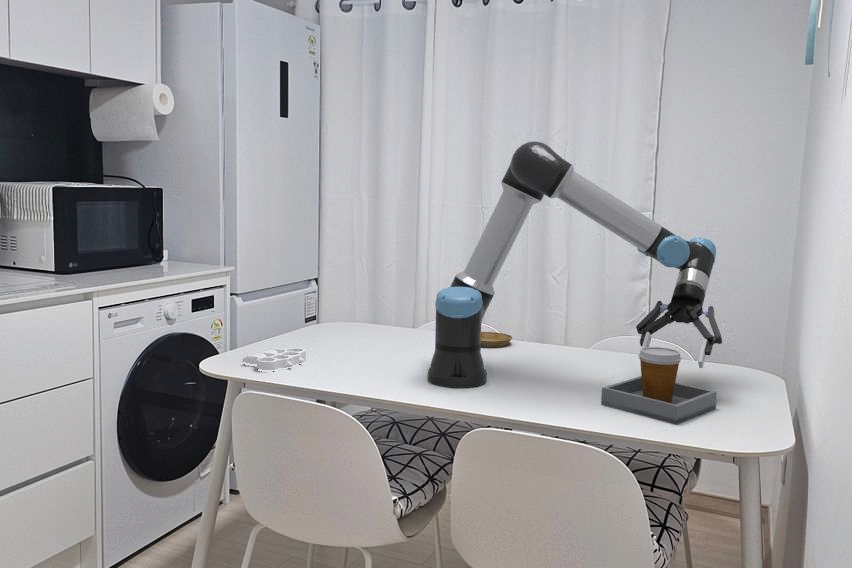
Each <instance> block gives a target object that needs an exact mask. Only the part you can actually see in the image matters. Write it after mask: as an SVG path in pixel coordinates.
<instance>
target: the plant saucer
mask: <svg viewBox="0 0 852 568" xmlns="http://www.w3.org/2000/svg"><path fill="white" fill-rule="evenodd" d="M512 340H513V336H512V335H510V334H507V333H502V332H498V331H497V332H496V331H481V347H483V348H500V347H505V346H507V345H508V344H509V343H510V342H511V341H512Z"/></svg>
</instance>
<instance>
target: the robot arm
mask: <svg viewBox="0 0 852 568" xmlns="http://www.w3.org/2000/svg"><path fill="white" fill-rule="evenodd" d="M500 184H501V186H502V193H501V195H500V197H499V199H498V200H497V204H496V205H495V208H494V209H493V211H492V213H491V216H490V217H489V219H488V222H487V224H486V226H485V227H484V229H483V231H482V234H481V236H480V238H479V240H478V242H477V244H476V246H475V248H474V249H473V252H472V254H471V256H470V258H469V260H468V263H467V264H466V266H465V269H464V271H462V272H459V273H456V274H455V276H454V278H453V280H452V282H451V284H450V286H449V287H447V288H442V289H440V290H439V291H438V292H437V293H436V299H435V333H434V334H435V335H434V336H435V338H434V339H435V341H434V342H435V346H434V353H433V355H432V358H431V361H430V367H428V369H427V381H428V382H429V383H431V384H433V385H435V386H436V385H437V386H440V387H445V388H456V389H457V388H459V389H460V388H461V389H462V388H463V389H464V388H473V387H479V386H482V385H484V384H486V383H487V380H488V379H487V378H488V377H487V376H488V374H487V370H486V369H485V365H484V359H483V355H482V352H481V350H482V349H481V332H482V322H483V319H484V317H485V314H486V312H487V310H488V309H489V306H490V304H491V303H492V300H493V298H494V296H495V294H496V291H495V290H494V289H495V288H494V283H495V281H496V279H497V278H498V275H499V273H500V271H501V269H502V267H503V265H504V263H505V261H506V260H507V257H508V255H509V253H510V251H511V249H512V247H513V245H514V243H515V242H516V239H517V238H518V235H519V233H520V231H521V229H522V227H523V226H524V223H525V222H526V219H527V217H528V215H529V213H530V211H531V210H532V207H533V206H534V205H536V204H538V203H541V202H542V200H543V198H544V196H546V197H547V198H549V199H555V198H556V199H559V200H560V201H562V202H563V203H565V204H566V205H568V206H570V207H571V208H573V209H575V210H577V211H578V212H579V213H582V215H584V216H586V217H587V218H589V219H591V220H592V221H594V222H595V223H597V224H598V225H600V226H602V227H604V228H605V229H606V230H608V231H610V232H611V233H613V234H615V235H616V236H618V237H620V238H621V239H622V240H624V241H625V242H627V243H630V244H631V245H632V246H634V247H636V248H637V251H638V252H639V253H641V254H643V255H644V256H646V257H649V258H652V259H654V260H656V261H657V262H659V263H660V264H661V265H663V266H664V267H667V268H675V269H677V270H679V272H678V276H677V279H676V282H675V287H674V289H673V293H672V296H671V298H670V299H671V300H670V302H669V303H668V304H667V303H663V302H662V300H658V301H656V304H655V306H654V308H653V309H652V310H650V312H648V314H646V315H645V317H644V318H643V319H641V321H639V323H638V324H636V325H635V327H636V331H637V334H638V335H641V336H640V340H639V345H640V347H641V349H642V348H647V347H650V344H651V342H652V341H651V340H652V335H653V334H655V333H656V332H658V331H660V330H661V329H662V328H664V327H666V326H667V325H670V324H673V323H674V322H675V323H678V324H680V323H681V324H682V323H683V324H687V325H689V324H691V323H692V324H693V326H694V327H695V328H696V329H697V330H698V331H699V333H700V334H701V336H702V337H703V340H702V345H701V349H700V352H699V356H698V360H697V362H698V363H697V364H698V368H700V369H703V368H704V364H705V359H706V356H711V354H712V351H713V346H714V345H715V344H718V345H721V344H723V339H722V334H721V331H720V329H719V325H718V324H717V320H716V317H715V309H714V306H713V305H710V306H708V307H704V308H703V305H704V301H705V298H706V293H707V289H708V285H709V283H710V278H711V274H712V270H713V267H714V265H715V261H716V257H717V248H716V244H715V243H714V242H713V241H712V240H711V239H708V238H705V237H702V238H701V237H699V236H698V237H693V238H691V239H690V240H685V238H683V237H682V236H679V235H676V234H675V233H673V232H672V231H670V230H668V229H667V228H665V227H663V226H662V225H660V224H659V223H657V222H656V221H654V220H652V219H651V218H650V217H648V216H646V215H645V214H643V213H642V212H640V211H639V210H636V209H635V208H633V207H632V206H631V205H629V204H627V203H626V202H624V201H623V200H621V199H619V198H618V197H616V196H614V195H613V194H611V193H610V192H608V191H607V190H605V189H603V187H600V186H599V185H598V184H596V183H594V182H593V181H591V180H589V179H587V178H586V177H585V176H583V175H581V174H580V173H578V172H576V171H575V169H574V165H573V164H572V163H570V162H568V161H567V160H566V159H565V158H562V156H560V155H559V154H558V153H557V152H555V150H553V149H552V148H551V147H550V146H549V145H548V144H546V143H544V142H541V141H528V142H526V143H523V144H521V145H520V146H519V147H518V148H517V149H516V150H515V151H514V153H513V154H512V157H511V160H510V163H509V166H508V168H507V169H506V172H505V174H504V176H503V177H502V180H501V182H500ZM663 313H664V314H663ZM703 314H704V316H705V317H706V318H707V319H708V321H709V324H710V327H711V330H712V333H713V334H711V332H710V331H709V330H708V328H707V327H706V326H705V324H704V323H703V322H702V320H701V319H700V317H701V316H702V315H703ZM661 315H662V316H661ZM641 349H640V350H641Z"/></svg>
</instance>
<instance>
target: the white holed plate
mask: <svg viewBox="0 0 852 568" xmlns="http://www.w3.org/2000/svg"><path fill="white" fill-rule="evenodd" d="M305 360H306V361H307V349H305V348H300V347H292V348H291V347H290V348H277V347H276V348H275V347H274V348H270V349H268V350H265V351H260V352H257V353H255V354H252V355H247V356H245V357H243V358H242V363H243V362H246V363H250V364H257V367H256V369H257V368H258V369H262V370H275V369H278V368H287V367H292V366H293V365H296V364H300V363H301V364H302V363H304V362H306V361H305ZM292 368H293V367H292Z"/></svg>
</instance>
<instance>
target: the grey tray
mask: <svg viewBox="0 0 852 568" xmlns="http://www.w3.org/2000/svg"><path fill="white" fill-rule="evenodd" d="M717 393H718V391H716V390H711V389H707V388H701V387H698V386H692V385H689V384H685V383H679V382H677V381H676V382H675V387H674V392H673V397H672V402H671V403H668V402H663V401H659V400H655V399H651V398H647V397H643V391H642V377H641V375H640V376H637V377H633V378H630V379H627V380H623V381H621V382H616V383H613V384H611V385H607V386H604V387H601V397H600V401H601V402H600V405H602V406H605V407H609V408H613V409H617V410H619V411H620V410H621V411H624V412H628V413H631V414H635V415H639V416H643V417H646V418H647V417H648V418H650V419H654V420H659V421H661V422H667V423H670V424H673V425H678V424H681V423H684V422H686V421H688V420H690V419H693V418H696V417H697V416H700V415H703V414H705V413H707V412H708V413H709V412H710V411H713V410H715V409H717Z"/></svg>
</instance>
